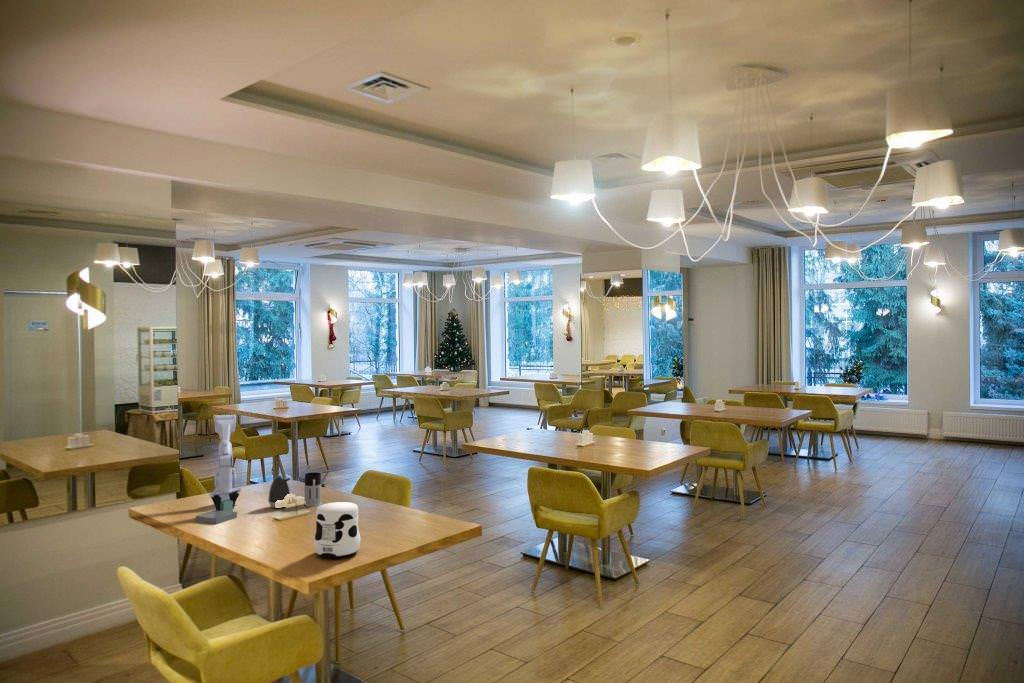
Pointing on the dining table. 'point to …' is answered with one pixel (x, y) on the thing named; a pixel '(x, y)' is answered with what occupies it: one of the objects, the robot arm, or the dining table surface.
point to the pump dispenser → (278, 490)
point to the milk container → (337, 530)
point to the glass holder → (313, 489)
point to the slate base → (216, 516)
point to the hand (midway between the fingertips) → (225, 509)
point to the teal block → (226, 505)
